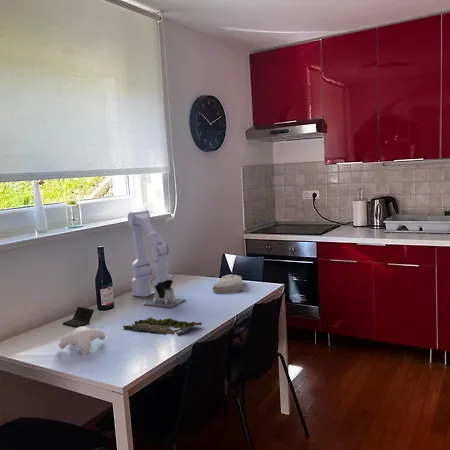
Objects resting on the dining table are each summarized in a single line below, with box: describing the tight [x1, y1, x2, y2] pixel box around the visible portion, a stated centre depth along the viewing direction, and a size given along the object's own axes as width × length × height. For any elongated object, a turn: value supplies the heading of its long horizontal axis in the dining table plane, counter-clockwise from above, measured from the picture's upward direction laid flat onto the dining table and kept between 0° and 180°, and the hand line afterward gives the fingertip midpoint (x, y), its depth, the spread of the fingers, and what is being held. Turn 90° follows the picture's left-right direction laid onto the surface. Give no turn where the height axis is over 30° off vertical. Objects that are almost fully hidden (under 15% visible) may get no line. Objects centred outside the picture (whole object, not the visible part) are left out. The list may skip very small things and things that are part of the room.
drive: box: [154, 287, 175, 301], centre depth 225 cm, size 8×4×6 cm, turn 62°
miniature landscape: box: [122, 317, 203, 337], centre depth 190 cm, size 32×12×3 cm, turn 65°
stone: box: [212, 274, 244, 294], centre depth 246 cm, size 21×15×5 cm
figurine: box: [58, 326, 106, 355], centre depth 175 cm, size 17×9×18 cm
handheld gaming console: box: [62, 306, 95, 328], centre depth 205 cm, size 12×7×10 cm
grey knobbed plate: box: [143, 295, 187, 309], centre depth 225 cm, size 16×12×3 cm
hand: (164, 296), depth 225 cm, fingers closed on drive, 4 cm apart
